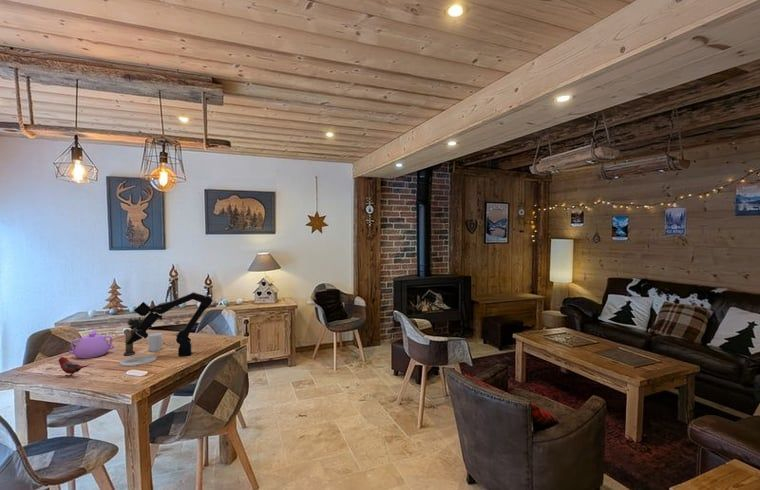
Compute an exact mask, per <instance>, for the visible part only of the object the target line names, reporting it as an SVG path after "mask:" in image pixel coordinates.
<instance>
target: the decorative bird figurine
mask: <svg viewBox="0 0 760 490" xmlns="http://www.w3.org/2000/svg"><path fill="white" fill-rule="evenodd" d="M57 361H58V364H59V366H60V368H61V370H62V372H64V373H66V374H65V376H66V377H75V375H74V374H75V373H78V372H79V371H81V370H82V369H85V368H87V367H90V365H89V364H88V365H87V364H86V365H80V364H78V363H76V362H73V361H70V360H69V359H68V358H67V357H64V356H61V357H59V359H58V360H57Z"/></svg>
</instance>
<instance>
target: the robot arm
mask: <svg viewBox="0 0 760 490" xmlns="http://www.w3.org/2000/svg"><path fill="white" fill-rule="evenodd" d="M193 300H194V301H196V302H199V306H198V307H197V308H196V310H195V312H194V314H193V315H192V317H191V318H190V320H189V321H188V322H187V324H186V326H185V327H184V328H180V329H179V332H177V334H176V339H175V341H176V342H177V344H179V347H178V348H177V349H178V351H177V352H178V353H177V354H178V357H180V358H181V357H187V356H188V357H189V356H191V355H192V354H193V352H192V343H191V342H192V339H191V338H190V337H189V336H190V333H191V331H192V329H193V328H194V327H195V325H196V323H197V322H198V321H199V319H200V317H201V316H202V314H203V313H204V312H205V311H206V309H208V308H209V307H210V306H211V305H212V303H213V297H212V296H211V295H204V294H200V293H197V292H195V291H193V292H191V293H188V294H186V295H184V296H181V297H178V298H176V299H173V300H171V301H165V302H161V303H159V304H157V305H154V306H149V305H148V304H146V302H145V301H143V302H141V304H139V305H138V306H137V307H135V309H134V310H133V312H135V313H136V314H138V315H139V316H140V317H144V318H143V319H140V320H139V318H138V319H136V318H134V319H133V318H128V321H127V323H126V324H127V325H128V326H129V327H128V328H129V332H130V331H133V336H132V337H131V338H130V340H129V341H128V342H127V345H129V344H131V343H133V344H134V343H135V342H138V341H139V340H142V339H148V335H149V334H148V333H147V331H148V330H149V329H150V328H152V327H153V325H154V324H155V323H156V322H157V320H161V321H162V320H163V314H165V313H166V312H169V311H170V310H171V309H173V308H175V307H177V306H179V305H182V304H185V303H187V302H189V301H193ZM124 343H125V344H126V341H124Z"/></svg>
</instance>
